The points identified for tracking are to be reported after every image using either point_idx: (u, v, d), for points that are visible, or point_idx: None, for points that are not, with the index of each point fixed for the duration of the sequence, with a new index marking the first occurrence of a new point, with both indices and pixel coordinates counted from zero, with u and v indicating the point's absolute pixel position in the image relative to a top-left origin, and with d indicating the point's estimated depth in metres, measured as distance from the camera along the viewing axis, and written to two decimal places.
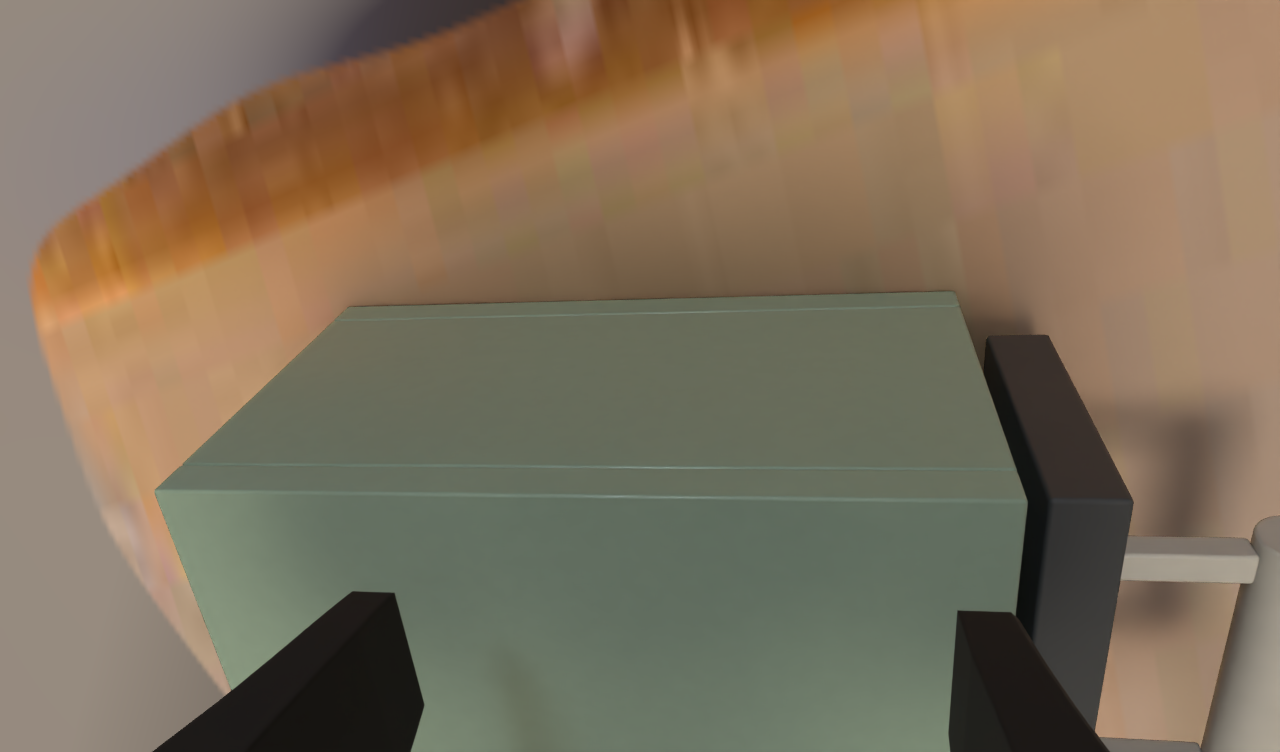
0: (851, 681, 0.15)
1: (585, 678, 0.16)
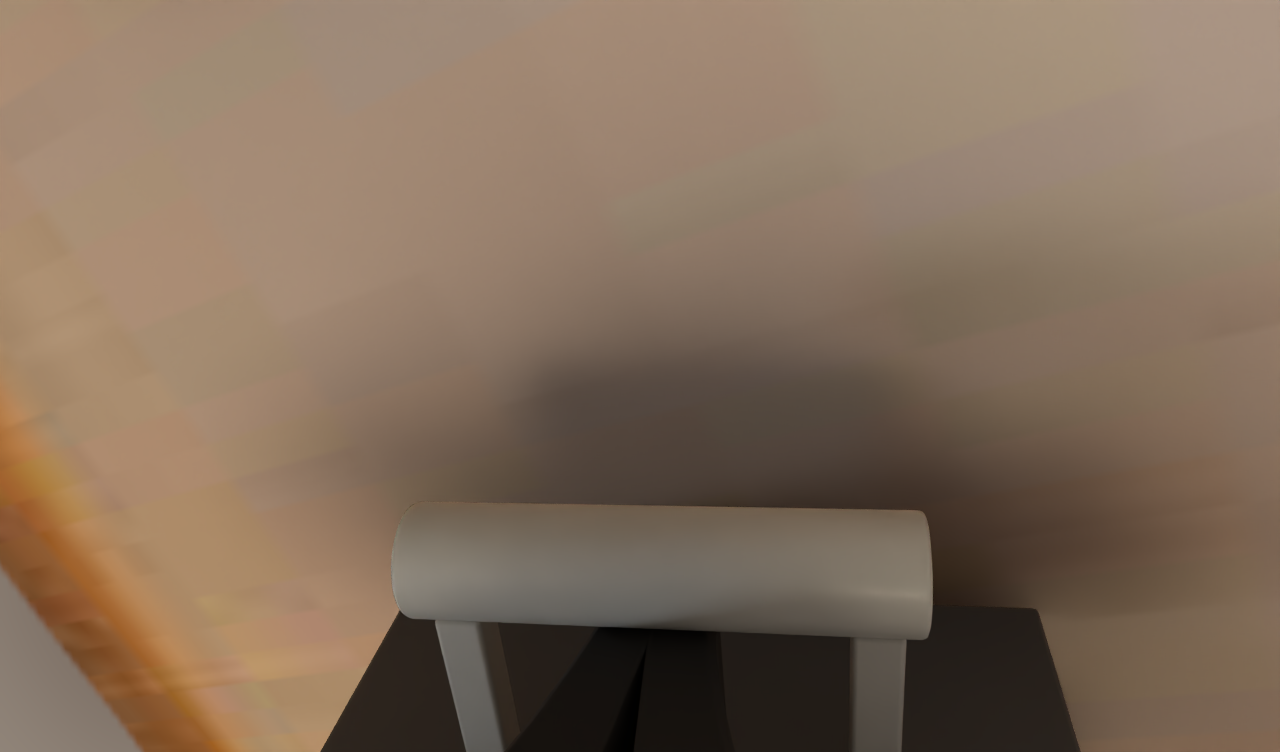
0: None
1: None
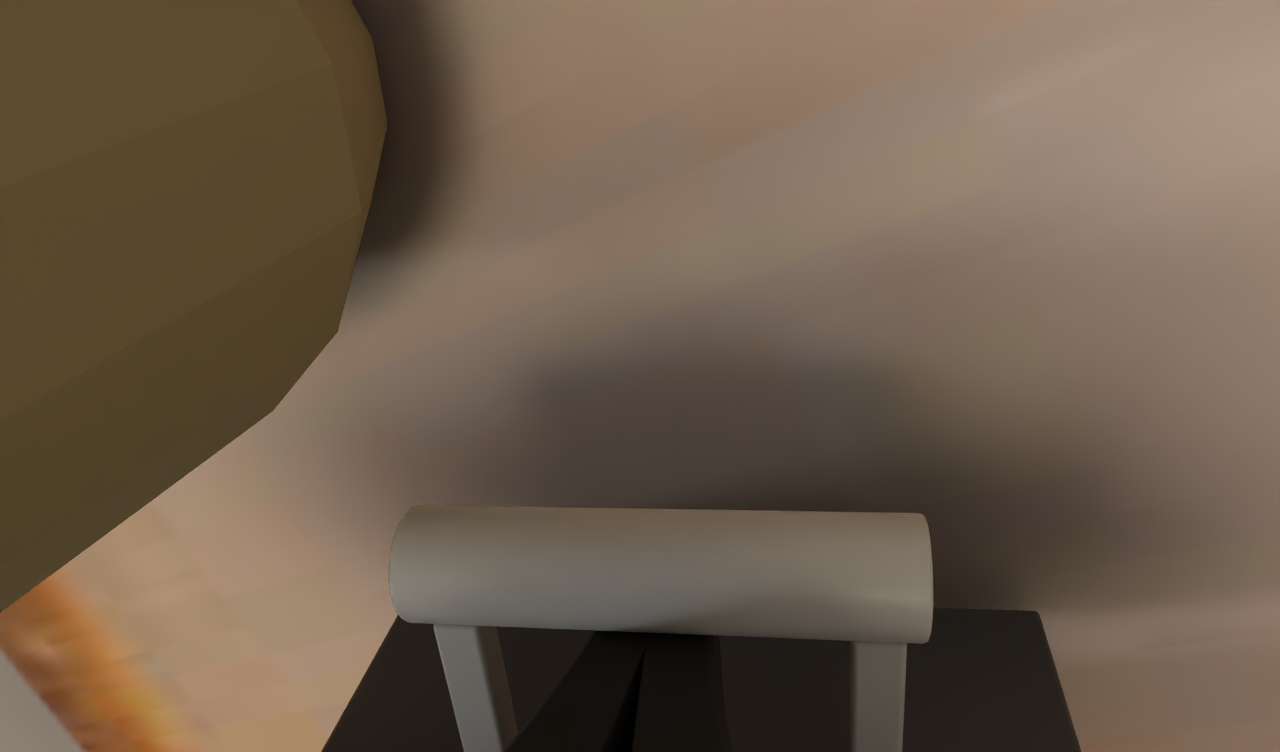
0: None
1: None
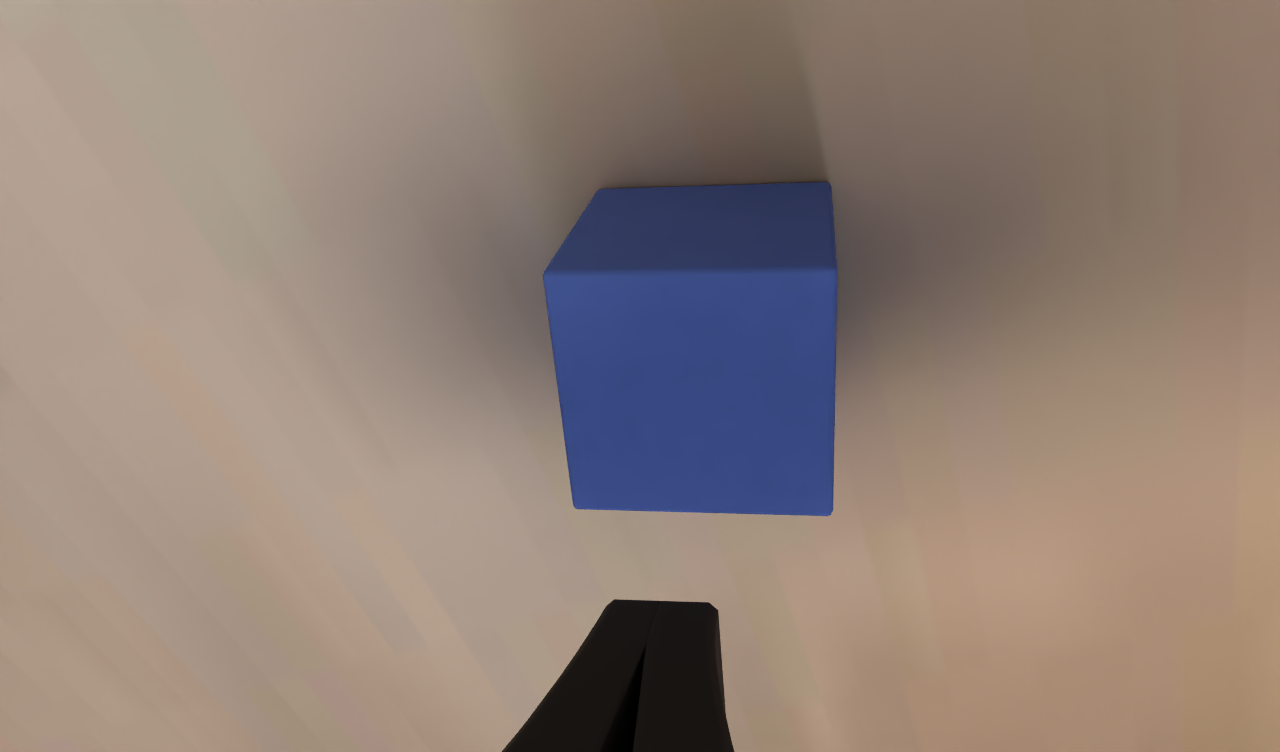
0: None
1: None
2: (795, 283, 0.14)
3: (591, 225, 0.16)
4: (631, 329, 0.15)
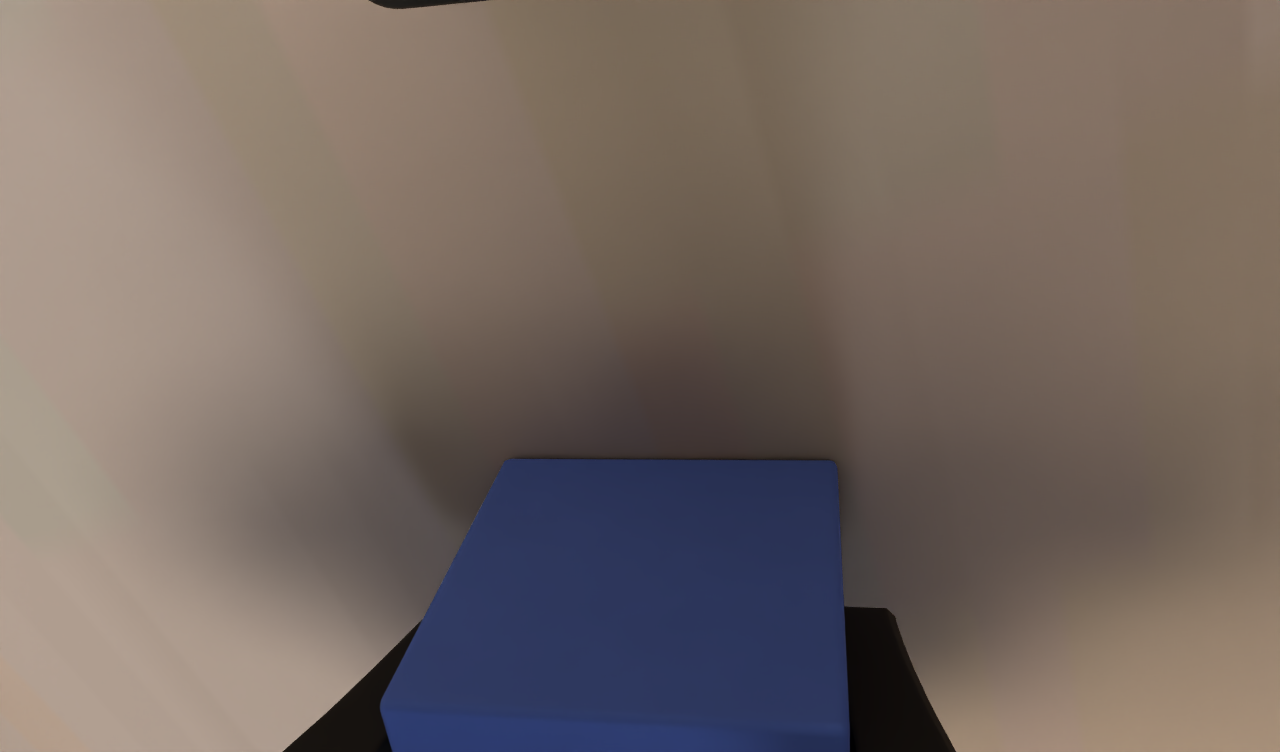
0: None
1: None
2: (782, 748, 0.08)
3: (478, 561, 0.11)
4: None
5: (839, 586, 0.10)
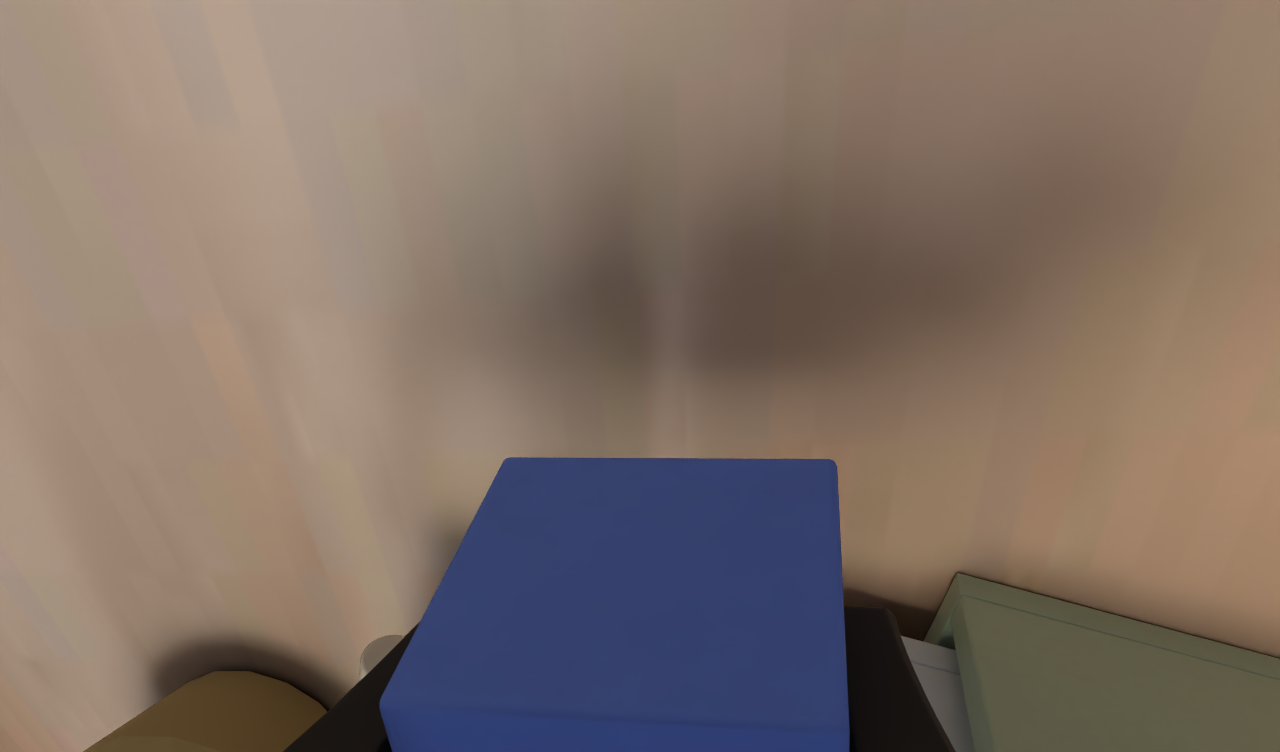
0: None
1: None
2: (782, 747, 0.08)
3: (477, 560, 0.11)
4: None
5: (839, 584, 0.10)
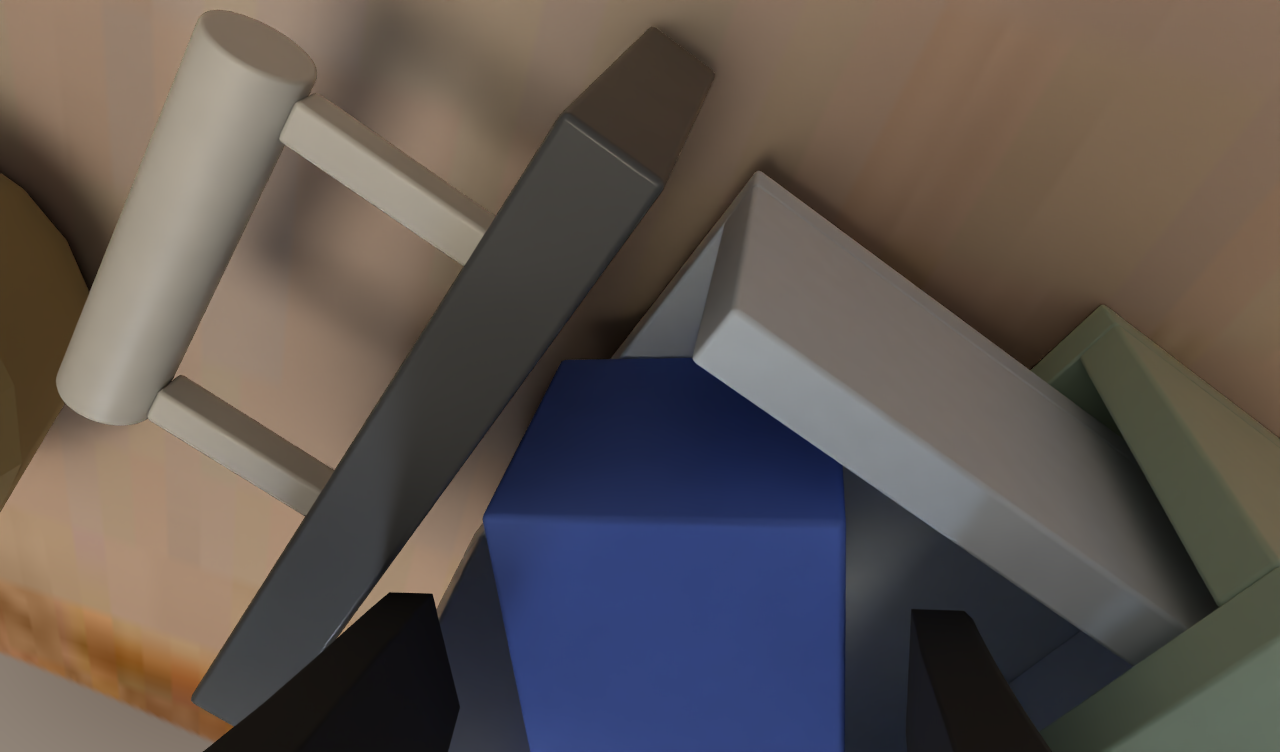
0: None
1: None
2: (794, 540, 0.11)
3: (548, 427, 0.13)
4: (593, 582, 0.12)
5: None
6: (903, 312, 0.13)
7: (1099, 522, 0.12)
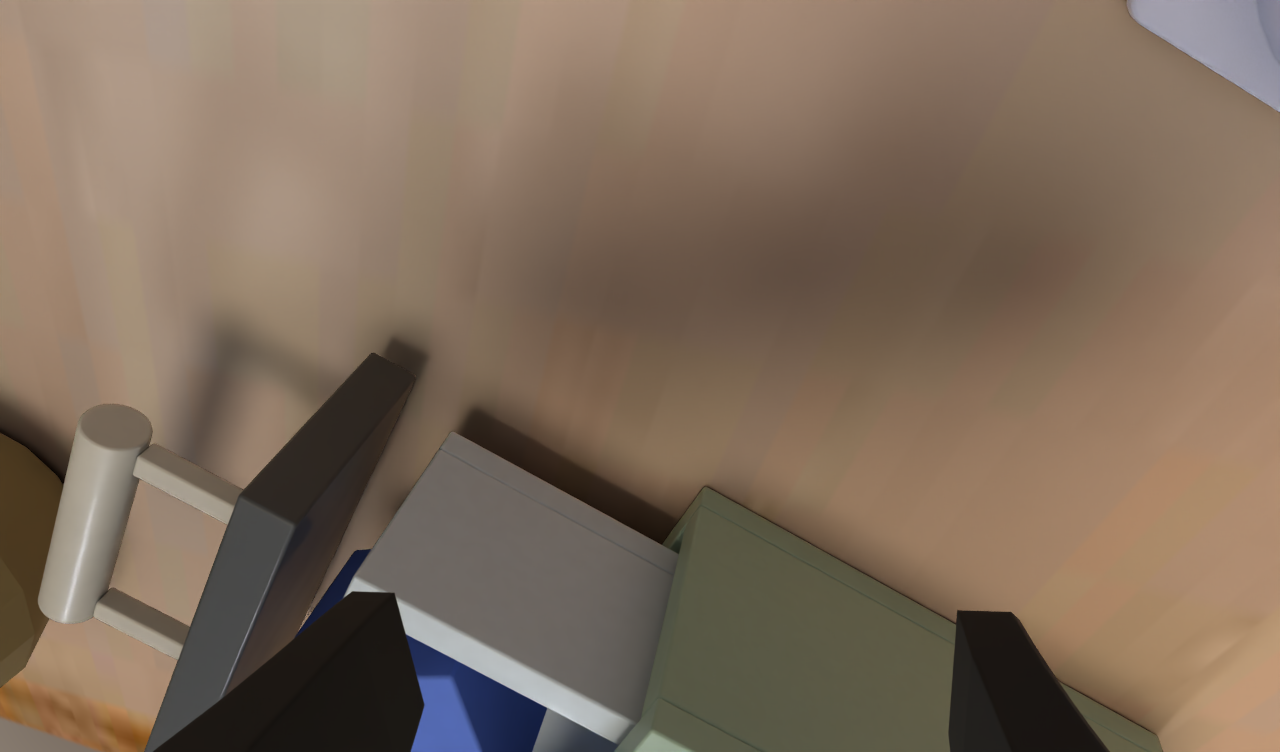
0: None
1: None
2: (428, 687, 0.19)
3: (324, 609, 0.22)
4: None
5: None
6: (528, 526, 0.21)
7: (616, 662, 0.20)
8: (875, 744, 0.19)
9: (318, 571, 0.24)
